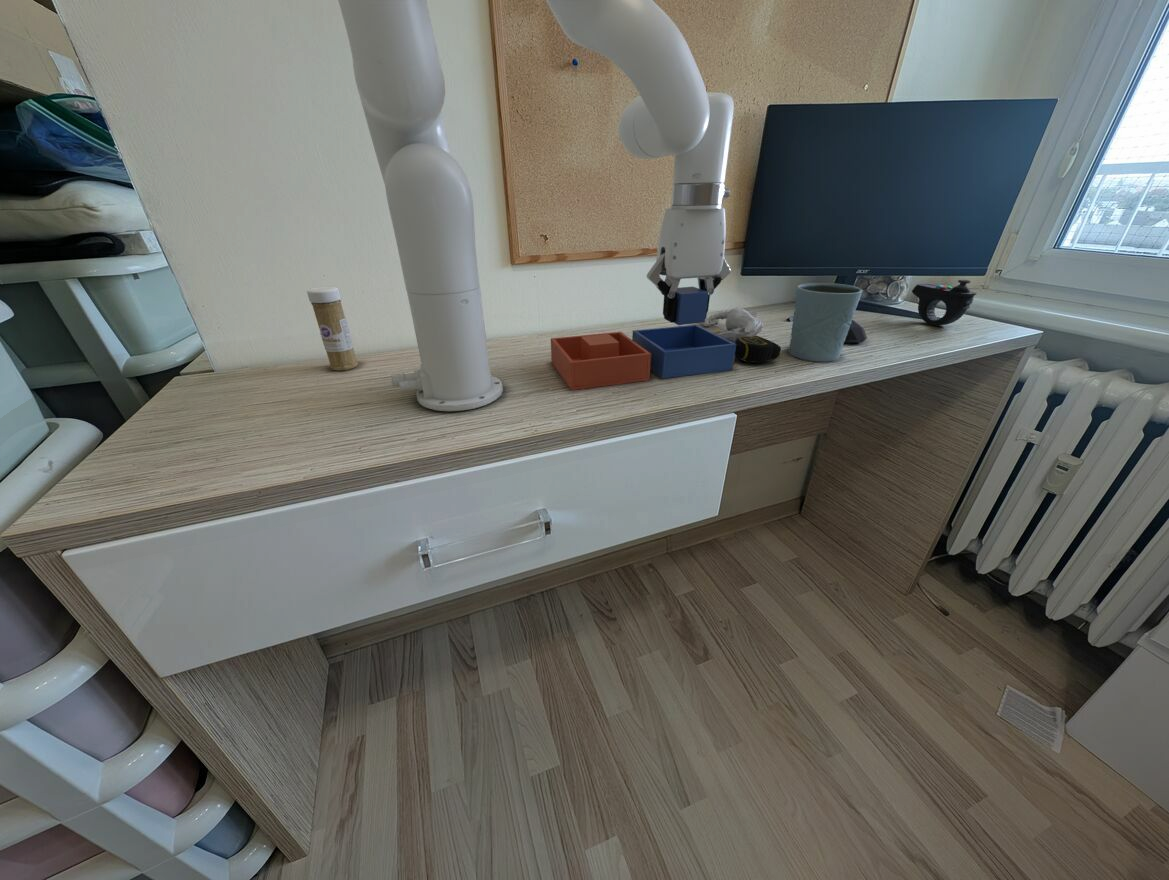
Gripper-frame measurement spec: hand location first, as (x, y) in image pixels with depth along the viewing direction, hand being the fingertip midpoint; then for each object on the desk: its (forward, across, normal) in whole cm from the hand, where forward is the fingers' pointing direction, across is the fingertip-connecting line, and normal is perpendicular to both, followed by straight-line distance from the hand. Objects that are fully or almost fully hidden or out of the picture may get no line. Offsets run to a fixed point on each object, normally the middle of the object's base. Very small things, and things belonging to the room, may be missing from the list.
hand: (684, 318), depth 74 cm
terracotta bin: (+8, +16, 0) cm, 17 cm away
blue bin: (+8, 0, 0) cm, 8 cm away
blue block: (0, 0, 0) cm, 0 cm away
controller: (+9, -66, -5) cm, 67 cm away
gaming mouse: (+8, -38, -5) cm, 40 cm away
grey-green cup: (+8, -25, +4) cm, 27 cm away
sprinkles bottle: (+8, +58, -16) cm, 60 cm away
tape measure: (+8, -13, +3) cm, 16 cm away
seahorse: (+8, -18, -12) cm, 23 cm away
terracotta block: (+7, +16, 0) cm, 17 cm away
